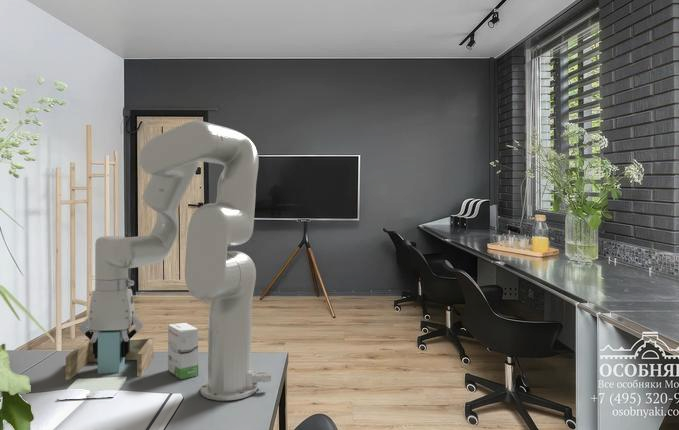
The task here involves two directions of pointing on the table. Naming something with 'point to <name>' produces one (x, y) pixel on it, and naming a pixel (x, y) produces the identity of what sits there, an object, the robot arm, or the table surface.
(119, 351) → the teal block
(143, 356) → the crate
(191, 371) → the ink box
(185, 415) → the table surface
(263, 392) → the table surface
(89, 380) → the felt mat
